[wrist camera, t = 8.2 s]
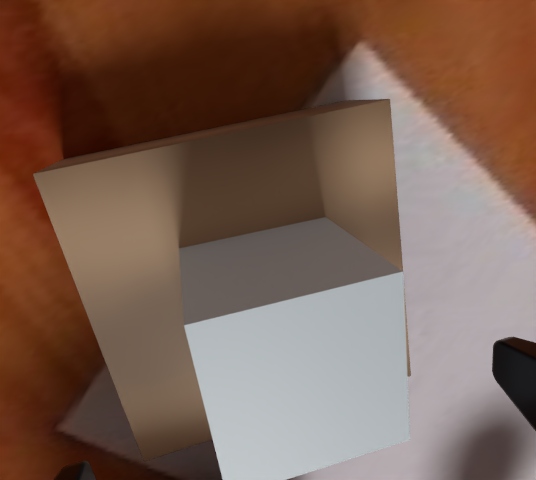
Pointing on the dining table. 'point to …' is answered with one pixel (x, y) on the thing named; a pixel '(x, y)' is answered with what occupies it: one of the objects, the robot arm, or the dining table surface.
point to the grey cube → (296, 348)
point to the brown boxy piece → (206, 234)
